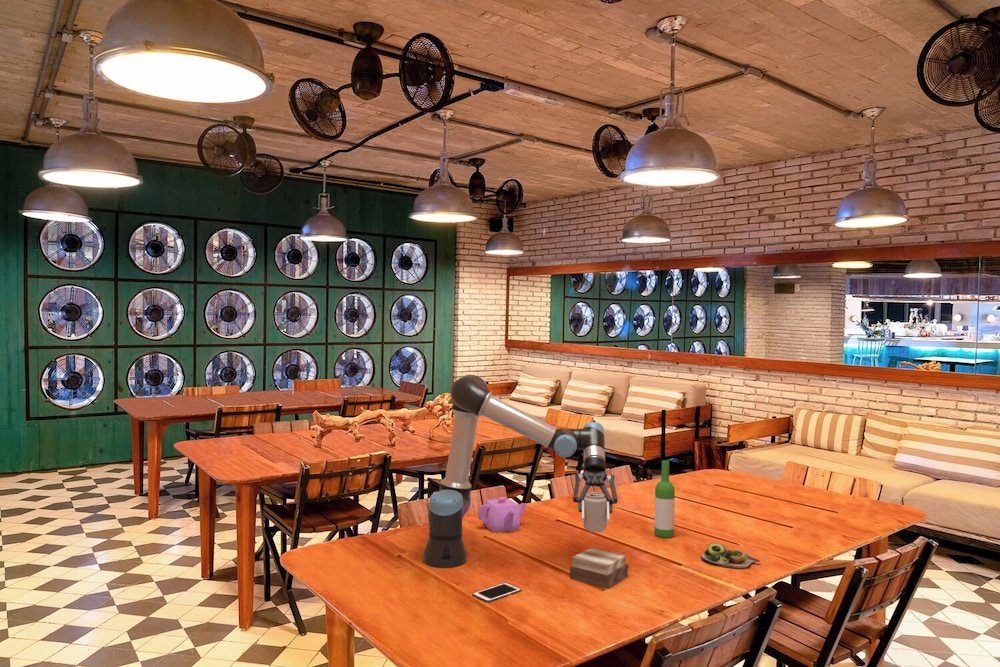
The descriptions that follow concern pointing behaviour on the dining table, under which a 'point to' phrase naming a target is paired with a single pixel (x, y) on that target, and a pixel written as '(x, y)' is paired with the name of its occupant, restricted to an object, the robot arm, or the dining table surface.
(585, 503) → the can
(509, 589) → the cell phone
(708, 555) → the salad plate
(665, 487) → the wine bottle
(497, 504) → the teakettle
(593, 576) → the plinth
